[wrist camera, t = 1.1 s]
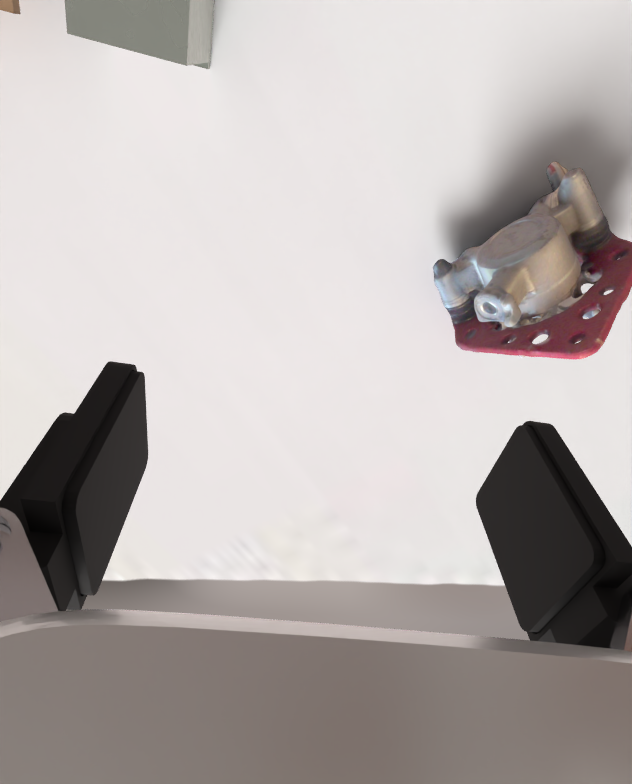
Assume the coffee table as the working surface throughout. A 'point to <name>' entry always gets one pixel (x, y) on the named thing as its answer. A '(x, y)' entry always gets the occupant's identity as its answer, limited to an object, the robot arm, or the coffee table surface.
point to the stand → (10, 6)
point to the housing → (147, 27)
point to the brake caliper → (541, 278)
